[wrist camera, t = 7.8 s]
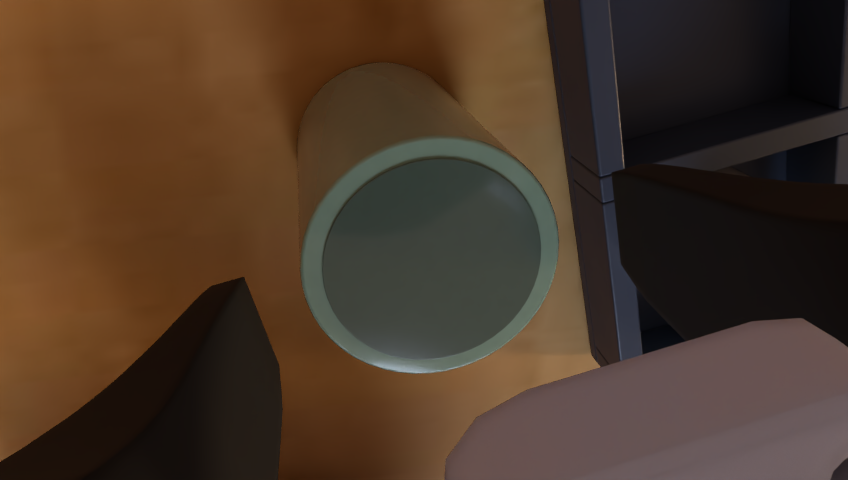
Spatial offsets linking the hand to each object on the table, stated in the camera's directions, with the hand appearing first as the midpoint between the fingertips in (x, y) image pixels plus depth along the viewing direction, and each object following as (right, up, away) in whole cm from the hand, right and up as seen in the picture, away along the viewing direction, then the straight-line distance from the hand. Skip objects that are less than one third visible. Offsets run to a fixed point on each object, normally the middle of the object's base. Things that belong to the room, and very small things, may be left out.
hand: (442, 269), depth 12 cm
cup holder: (+8, +4, +9) cm, 13 cm away
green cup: (-2, +3, +7) cm, 8 cm away
